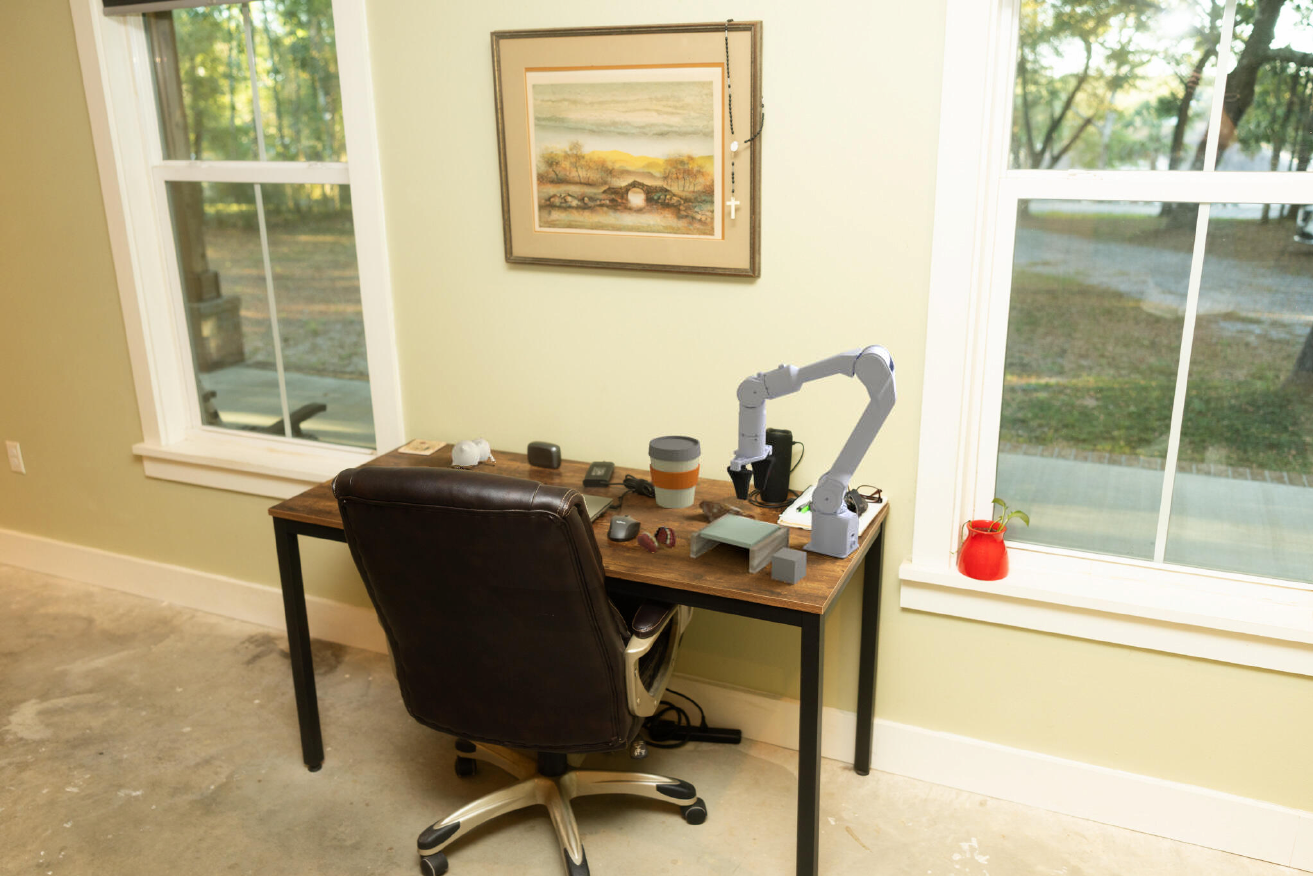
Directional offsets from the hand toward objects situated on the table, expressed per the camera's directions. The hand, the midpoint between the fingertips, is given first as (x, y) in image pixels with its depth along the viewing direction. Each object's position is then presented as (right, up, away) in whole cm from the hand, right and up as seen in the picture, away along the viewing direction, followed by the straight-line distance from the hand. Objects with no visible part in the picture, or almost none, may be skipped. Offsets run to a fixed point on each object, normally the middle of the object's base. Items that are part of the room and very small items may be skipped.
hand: (750, 494), depth 206 cm
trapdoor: (-3, -8, -6) cm, 10 cm away
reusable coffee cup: (-16, -4, +26) cm, 31 cm away
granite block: (+6, -15, -16) cm, 23 cm away
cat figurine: (-70, +4, +55) cm, 89 cm away
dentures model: (-20, -11, 0) cm, 23 cm away
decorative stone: (-3, -7, +14) cm, 16 cm away
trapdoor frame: (-3, -12, -5) cm, 13 cm away
